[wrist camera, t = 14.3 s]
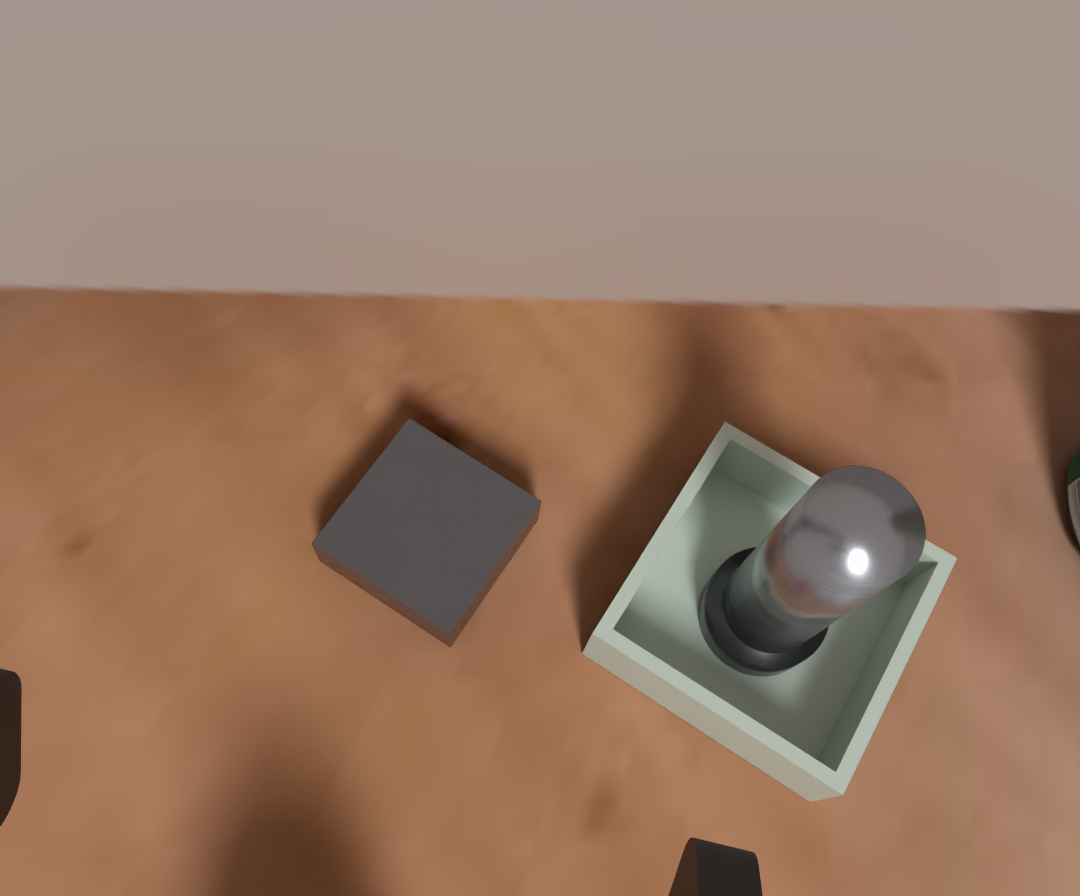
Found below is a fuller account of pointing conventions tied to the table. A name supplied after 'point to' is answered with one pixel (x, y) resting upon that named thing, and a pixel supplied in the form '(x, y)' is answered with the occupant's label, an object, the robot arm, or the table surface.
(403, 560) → the stud block
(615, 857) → the table surface
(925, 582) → the bin
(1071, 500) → the coffee jar
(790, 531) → the silver domed cylinder
